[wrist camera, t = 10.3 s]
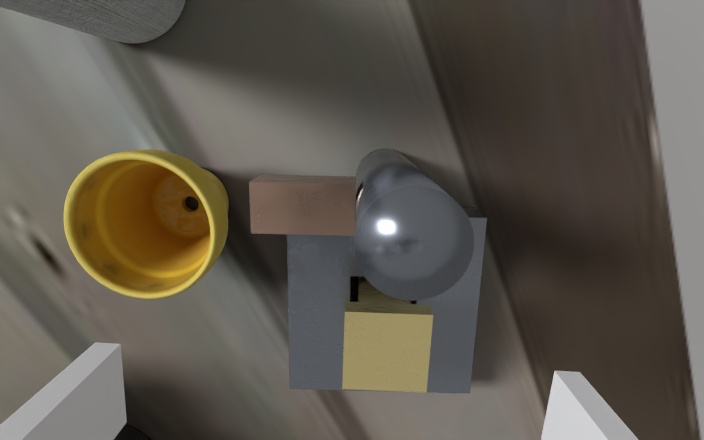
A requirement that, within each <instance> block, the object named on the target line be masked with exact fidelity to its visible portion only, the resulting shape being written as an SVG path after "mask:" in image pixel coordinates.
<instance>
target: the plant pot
mask: <svg viewBox="0 0 704 440" xmlns="http://www.w3.org/2000/svg"><path fill="white" fill-rule="evenodd" d="M189 196H191V197H194V198H196V199H197V201H198V204H199V205H198V208H197V209H195V210H191V209H189V208H188V207H187V206H186V204H185V200H186V198H187V197H189ZM228 210H229V201H228V196H227V192H226V190H225V188H224V186H223V184H222V183H221V181H220V180H219V179H218V178H217V177H216V176H215V175H214V174H212V173H211V172H209V171H208V170H205V169H203V168H201V167H199V166H197V165H196V164H195V163H193V162H192V161H190V160H188V159H186V158H184V157H182V156H180V155H177V154H174V153H171V152H167V151H162V150H134V151H126V152H120V153H115V154H111V155H108V156H105V157H103V158H101V159H99V160H97V161H95V162H93V163H92V164H90V165H89V166H88V167H86V168H85V169H84V170H83V171H82V172H81V173H80V174H79V175H78V176H77V178H76V179H75V180H74V182H73V184H72V185H71V187H70V189H69V191H68V194H67V197H66V201H65V205H64V229H65V234H66V237H67V241H68V243H69V246H70V248H71V250H72V252H73V254H74V256H75V257H76V259H77V260H78V262H79V263H80V265H81V266H82V267H83V268H84V269H85V270H86V271H87V273H88V274H90V275H91V276H92V277H93V278H94V279H95V280H97V281H98V282H99V283H101V284H103V285H104V286H106V287H107V288H109V289H111V290H113V291H115V292H118V293H120V294H123V295H126V296H130V297H135V298H141V299H159V298H165V297H170V296H173V295H176V294H179V293H181V292H183V291H185V290H187V289H188V288H190V287H191V286H193V285H194V284H195V283H196V282H198V281H199V280H200V279H201V278H202V277H203V276H204V275H205V274H206V273H207V272H208V270H209V269H210V268H211V267H212V266H213V264H214V263H215V262H216V260H217V259H218V257H219V255H220V254H221V252H222V250H223V248H224V245H225V242H226V238H227V233H228Z"/></svg>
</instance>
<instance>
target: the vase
mask: <svg viewBox="0 0 704 440" xmlns="http://www.w3.org/2000/svg"><path fill="white" fill-rule="evenodd" d="M185 2H186V0H0V7H3V8H6V9H10V10H13V11H16V12H19V13H23V14H26V15H29V16H33V17H36V18H39V19H42V20H46V21H49V22H52V23H56V24H59V25H62V26H66V27H69V28H72V29H75V30H79V31H82V32H85V33H89V34H92V35H95V36H98V37H102V38H105V39H109V40H113V41H118V42H123V43H143V42H148V41H151V40H153V39H156V38H158V37H159V36H161V35H163V34H164V33H165V32H167V31H168V30H169V29H170V28H171V27H172V26H173V25H174V24H175V22H176V21H177V19H178V18H179V16H180V14H181V12H182V10H183V8H184V5H185Z"/></svg>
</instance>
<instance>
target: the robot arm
mask: <svg viewBox="0 0 704 440" xmlns="http://www.w3.org/2000/svg"><path fill="white" fill-rule="evenodd" d="M126 423H127V419H126V406H125V393H124V380H123V367H122V355H121V344H111V343H94V344H93V345H92V346H91V347H90V348H88V349H87V350H86V351H85V352H84V353H83V354H81V355H80V356H79V357H78V358H77V359H76V360H75V361H73V362H72V363H71V364H70V365H69V366H68V367H66V368H65V369H64V370H63V371H62V372H61V373H60V374H58V375H57V376H56V377H55V378H54V379H53V380H51V381H50V382H49V383H48V384H47V385H46V386H45V387H43V388H42V389H41V390H40V391H39V392H38V393H36V394H35V395H34V396H33V397H32V398H31V399H30V400H28V401H27V402H26V403H25V404H24V405H23V406H21V407H20V408H19V409H18V410H17V411H16V412H15V413H13V414H12V415H11V416H10V417H9V418H8V419H6V420H5V421H4V422H3V423H2V424H1V425H0V440H149V439H148V438H147V437H146V436H144V435H143V434H142V433H140V432H139V431H138V430H136V429H134V428H133V427H131V426H129V425H127V424H126ZM541 440H638V439H637V438H636V436H635V435H634V434H633V433H632V432H631V431H630V429H629V428H628V427H627V426H626V425H625V424H624V423H623V421H622V420H621V419H620V418H619V417H618V416H617V414H616V413H615V412H614V411H613V410H612V409H611V408H610V406H609V405H608V404H607V403H606V402H605V401H604V399H603V398H602V397H601V396H600V395H599V394H598V393H597V391H596V390H595V389H594V388H593V387H592V386H591V384H590V383H589V382H588V381H587V380H586V379H585V377H584V376H583V375H582V374H581V373H580V372H569V371H554V376H553V382H552V387H551V392H550V397H549V402H548V407H547V412H546V417H545V422H544V427H543V432H542V437H541Z"/></svg>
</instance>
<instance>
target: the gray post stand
mask: <svg viewBox="0 0 704 440" xmlns="http://www.w3.org/2000/svg"><path fill="white" fill-rule="evenodd" d="M249 197H250V223H251V234H287V264H288V320H289V376H290V389H318V390H353V389H342V381H343V350H344V319H345V302H350V291H351V276H365V278H366V279H367V280H368V281H369V282H370V284H371V285H373V286H374V287H375V288H376V289H378V290H379V291H381V292H382V293H384V294H386V295H388V296H390V297H393V298H396V299H401V300H409V301H410V302H411V304H420V305H430V308H431V310H432V313H433V324H432V336H431V347H430V359H429V370H428V382H427V392H437V393H470V387H471V377H472V367H473V356H474V346H475V336H476V326H477V316H478V305H479V295H480V285H481V275H482V265H483V254H484V244H485V234H486V224H487V218H486V217H485V216H484V215H483V214H481V213H480V212H479V211H478V210H476V209H475V208H474V207H461V206H460V205H459V204H458V203H457V202H456V201H455V200H454V199H453V198H452V197H451V196H449V195H448V194H447V193H446V192H445V191H444V190H443V189H441V188H440V187H439V186H438V185H437V184H436V183H435V182H433V181H432V180H431V179H430V178H429V177H428V176H427V175H425V174H424V173H423V172H422V171H421V170H420V169H419V168H417V167H416V166H415V165H414V164H413V163H412V162H411V161H409V160H408V159H407V158H406V157H405V156H404V155H402V154H401V153H399V152H398V151H395V150H392V149H378V150H375V151H373V152H371V153H369V154H368V155H367V156H365V157H364V159H363V160H362V161H361V162H360V164H359V166H358V169H357V173H356V177H346V176H299V175H259V176H258V177H256V178H255V179H253V180H251V181H250V182H249ZM357 391H378V390H357ZM397 392H403V391H397Z"/></svg>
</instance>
